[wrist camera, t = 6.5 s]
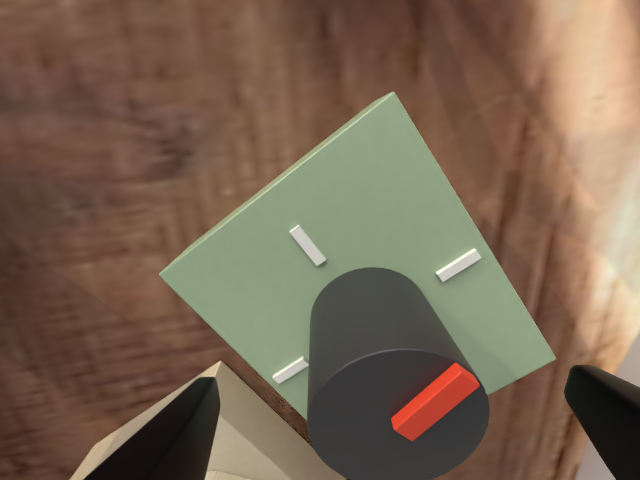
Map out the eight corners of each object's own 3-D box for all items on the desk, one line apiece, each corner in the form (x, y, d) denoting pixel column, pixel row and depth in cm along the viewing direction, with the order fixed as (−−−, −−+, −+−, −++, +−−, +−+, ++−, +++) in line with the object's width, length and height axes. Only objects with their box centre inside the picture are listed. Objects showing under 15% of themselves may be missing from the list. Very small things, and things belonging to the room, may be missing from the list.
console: (192, 243, 13) (154, 277, 10) (374, 100, 11) (395, 89, 8) (346, 407, 16) (353, 471, 13) (509, 313, 14) (560, 362, 11)
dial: (373, 386, 12) (404, 524, 8) (286, 328, 11) (268, 449, 7) (453, 312, 11) (537, 425, 6) (364, 242, 10) (398, 322, 6)
